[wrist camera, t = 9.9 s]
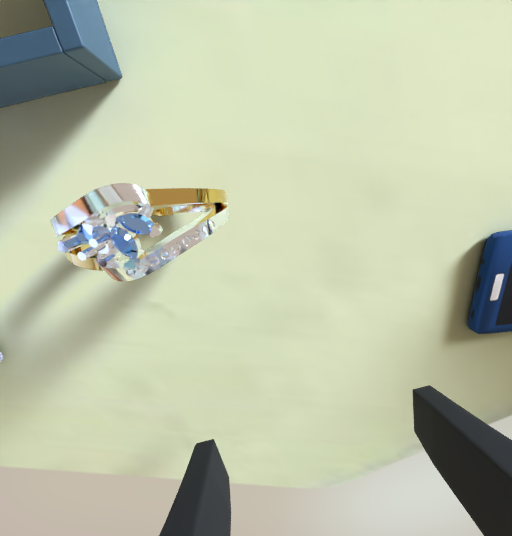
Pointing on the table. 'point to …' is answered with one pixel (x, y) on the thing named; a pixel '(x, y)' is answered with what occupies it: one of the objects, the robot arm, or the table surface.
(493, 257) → the cell phone
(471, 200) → the table surface
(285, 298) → the table surface
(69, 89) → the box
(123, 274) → the ring
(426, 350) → the table surface
